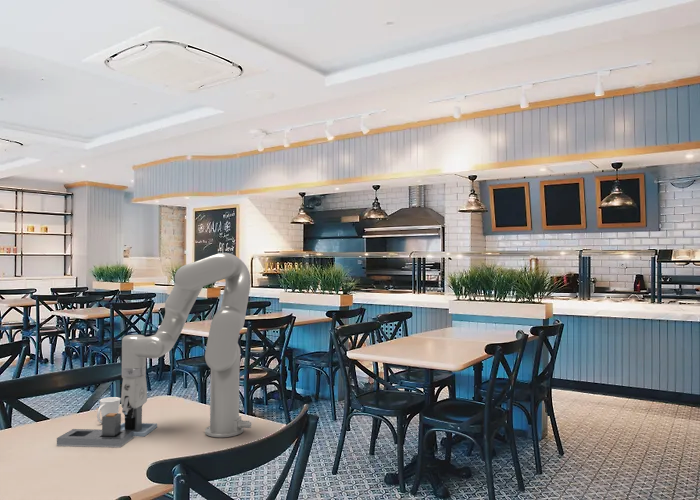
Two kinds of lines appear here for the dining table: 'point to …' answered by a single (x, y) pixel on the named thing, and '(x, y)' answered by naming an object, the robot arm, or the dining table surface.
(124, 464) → the dining table surface
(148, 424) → the tray
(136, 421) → the plug
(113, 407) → the cup
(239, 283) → the robot arm
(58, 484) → the dining table surface
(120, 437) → the grey socket
